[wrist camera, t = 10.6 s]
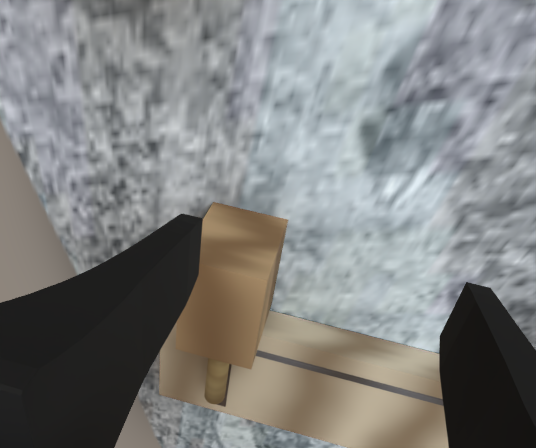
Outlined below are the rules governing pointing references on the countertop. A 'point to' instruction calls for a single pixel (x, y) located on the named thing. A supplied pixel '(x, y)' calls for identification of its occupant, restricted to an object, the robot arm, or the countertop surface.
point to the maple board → (323, 386)
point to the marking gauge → (231, 291)
